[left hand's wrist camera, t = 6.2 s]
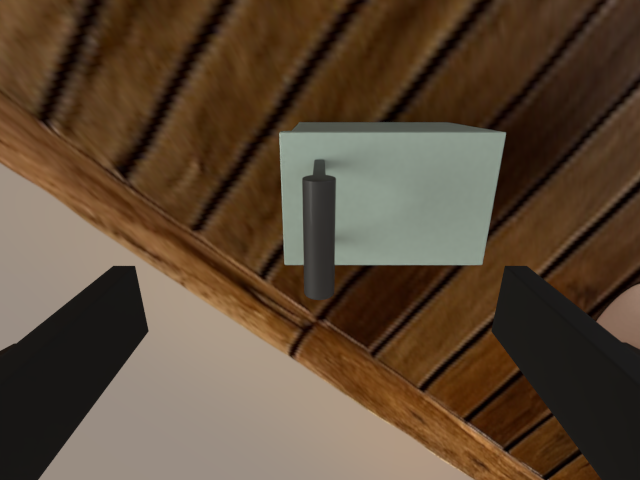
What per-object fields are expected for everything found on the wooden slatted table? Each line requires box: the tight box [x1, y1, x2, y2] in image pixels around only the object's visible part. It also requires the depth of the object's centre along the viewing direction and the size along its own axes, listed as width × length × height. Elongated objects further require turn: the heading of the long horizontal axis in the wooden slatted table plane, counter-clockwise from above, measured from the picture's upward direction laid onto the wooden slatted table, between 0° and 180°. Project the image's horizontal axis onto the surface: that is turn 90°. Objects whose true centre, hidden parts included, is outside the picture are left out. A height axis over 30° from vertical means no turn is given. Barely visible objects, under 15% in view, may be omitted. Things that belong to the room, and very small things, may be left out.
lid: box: [279, 131, 506, 300], centre depth 22 cm, size 15×10×9 cm, turn 90°
